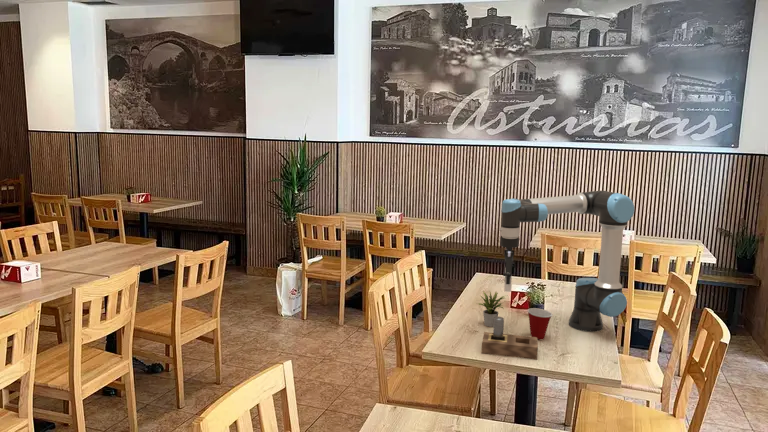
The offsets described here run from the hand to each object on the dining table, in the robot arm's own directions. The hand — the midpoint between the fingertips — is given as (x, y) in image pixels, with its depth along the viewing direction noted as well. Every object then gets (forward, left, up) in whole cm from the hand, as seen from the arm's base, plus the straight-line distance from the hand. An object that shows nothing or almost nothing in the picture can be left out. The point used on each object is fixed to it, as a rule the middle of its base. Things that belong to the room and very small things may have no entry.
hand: (507, 286), depth 252 cm
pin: (+2, +6, -25) cm, 26 cm away
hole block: (-2, +6, -26) cm, 26 cm away
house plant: (+7, -23, -26) cm, 35 cm away
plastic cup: (-14, -14, -26) cm, 33 cm away
